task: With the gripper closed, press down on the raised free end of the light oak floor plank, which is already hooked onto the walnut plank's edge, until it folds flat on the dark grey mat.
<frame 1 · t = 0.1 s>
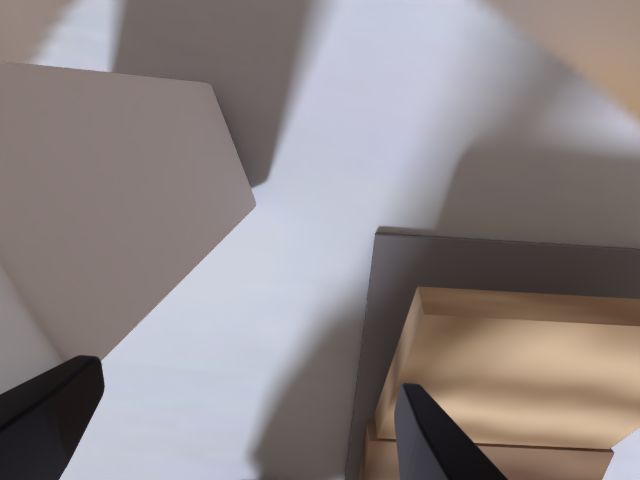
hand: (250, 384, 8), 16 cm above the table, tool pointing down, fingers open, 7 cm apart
walnut plank: (472, 458, 30), resting on underlay mat
underlay mat: (490, 382, 28), on the table
oak plank: (529, 382, 23), point 4 cm above the table, hinge at 20.0°
milk carton: (183, 164, 22), on the table, touching gripper
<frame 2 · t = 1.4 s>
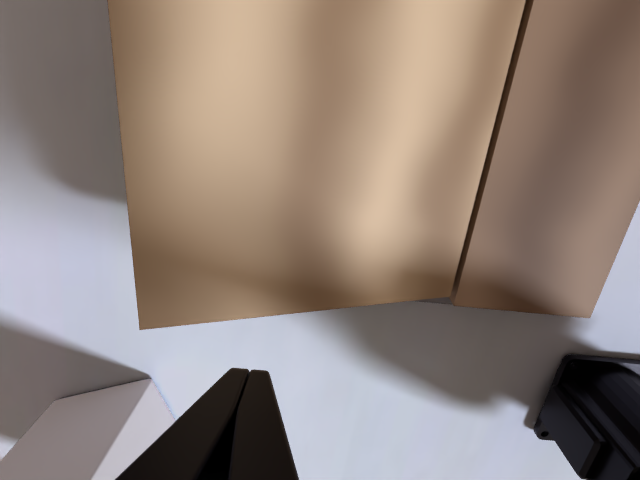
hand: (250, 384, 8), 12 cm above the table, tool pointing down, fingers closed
walnut plank: (558, 124, 17), resting on underlay mat
oak plank: (331, 101, 14), point 4 cm above the table, hinge at 20.0°
milk carton: (129, 424, 25), on the table
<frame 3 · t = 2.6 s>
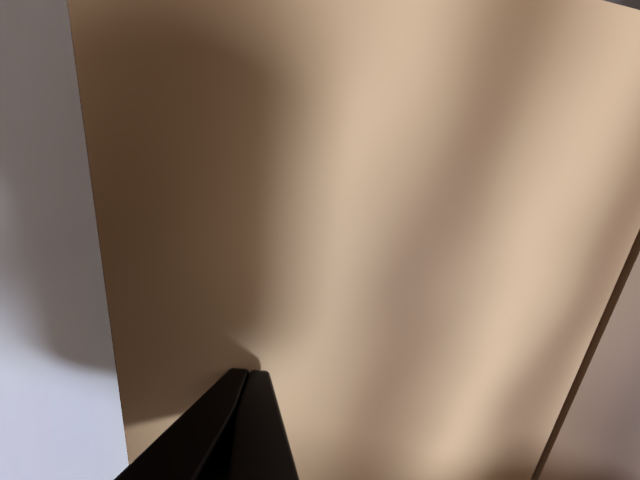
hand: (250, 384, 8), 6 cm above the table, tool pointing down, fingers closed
oak plank: (398, 334, 11), point 4 cm above the table, hinge at 19.9°, touching gripper
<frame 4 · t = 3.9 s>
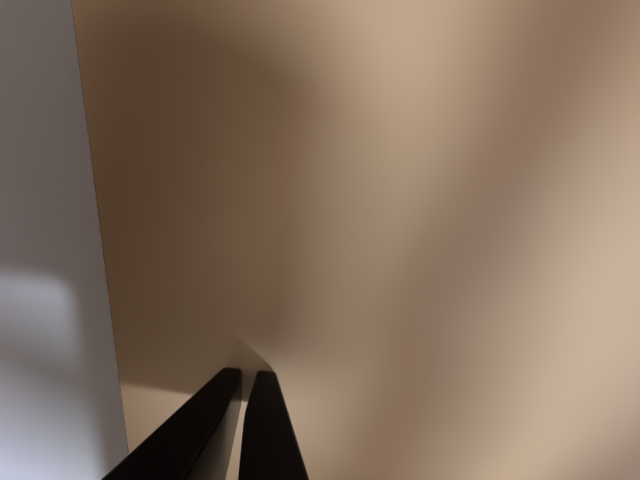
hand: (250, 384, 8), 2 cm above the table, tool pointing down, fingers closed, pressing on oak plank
oak plank: (420, 374, 9), point 1 cm above the table, hinge at -0.1°, touching gripper
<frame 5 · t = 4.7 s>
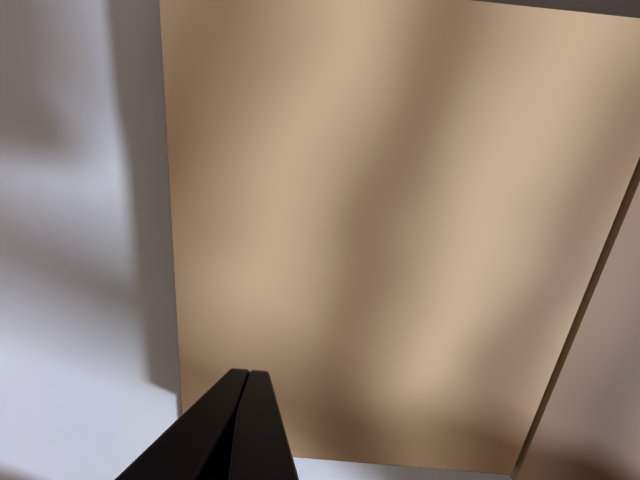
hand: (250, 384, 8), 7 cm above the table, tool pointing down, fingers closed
underlay mat: (459, 266, 15), on the table
oak plank: (375, 273, 14), point 1 cm above the table, hinge at -0.1°
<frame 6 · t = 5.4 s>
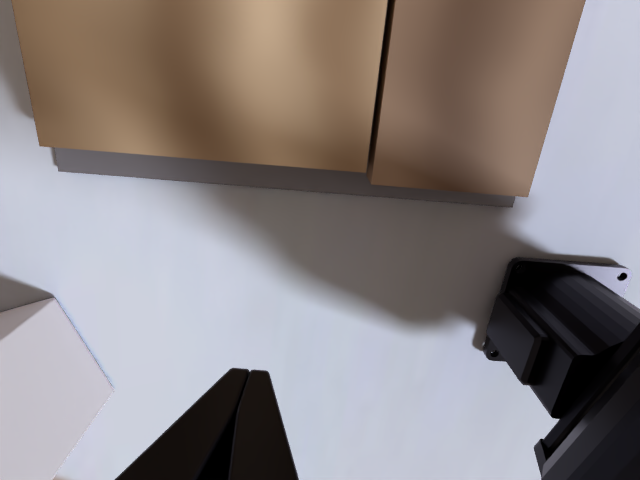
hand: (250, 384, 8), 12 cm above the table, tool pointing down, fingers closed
milk carton: (40, 355, 23), on the table
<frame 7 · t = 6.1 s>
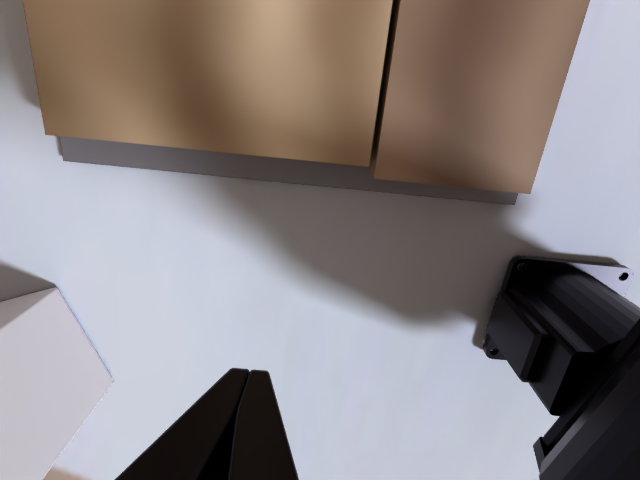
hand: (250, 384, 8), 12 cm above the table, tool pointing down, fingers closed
milk carton: (41, 345, 23), on the table
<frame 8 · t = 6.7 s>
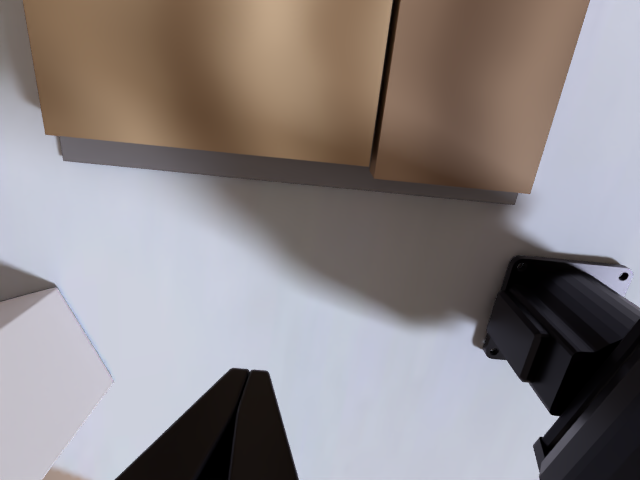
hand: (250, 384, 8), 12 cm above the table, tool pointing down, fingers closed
milk carton: (41, 345, 23), on the table
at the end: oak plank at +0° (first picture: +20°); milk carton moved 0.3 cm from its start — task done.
